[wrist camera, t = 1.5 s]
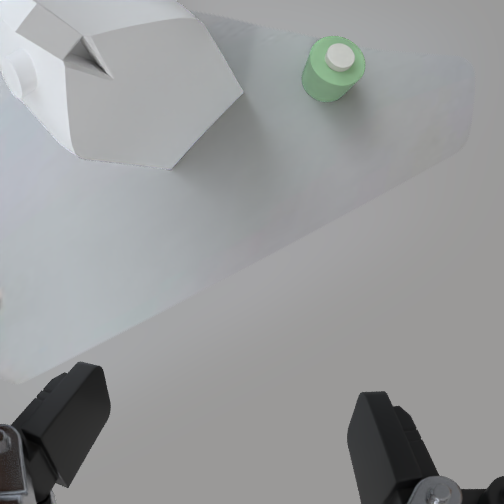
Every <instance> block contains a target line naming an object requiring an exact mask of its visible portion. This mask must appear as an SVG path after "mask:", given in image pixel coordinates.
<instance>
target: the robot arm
mask: <svg viewBox="0 0 504 504" xmlns="http://www.w3.org/2000/svg"><path fill="white" fill-rule="evenodd" d="M110 406H111V405H110V399H109V394H108V390H107V385H106V381H105V376H104V372H103V369H102V367H100V366H97V365H93V364H88V363H84V362H78V363H77V364H76V365H75V366H74V367H73V368H72V369H71V370H70V372H68V373H63V374H61V375H59V376H57V377H55V378H54V379H52V380H51V381H50V382H49V383H48V384H47V385H46V387H45V388H44V390H43V391H41V392H40V393H39V394H38V395H37V398H35V399H34V400H33V401H32V402H31V403H30V404H29V405H28V407H27V408H26V409H25V410H24V411H23V412H22V413H21V415H19V417H18V418H17V419H16V420H15V421H14V422H13V424H12V425H11V426H10V425H6V424H0V504H56V500H55V496H54V493H53V491H52V488H53V486H54V484H55V483H57V484H59V485H62V486H64V487H67V488H69V486H70V484H71V482H72V480H73V479H74V477H75V475H76V473H77V471H78V470H79V468H80V466H81V465H82V463H83V461H84V459H85V458H86V456H87V454H88V452H89V451H90V449H91V447H92V445H93V444H94V442H95V440H96V438H97V437H98V435H99V433H100V432H101V430H102V428H103V427H104V425H105V423H106V422H107V420H108V418H109V415H110V408H111V407H110ZM347 442H348V448H349V452H350V456H351V460H352V465H353V469H354V473H355V478H356V482H357V486H358V491H359V495H360V499H361V504H504V476H502V477H499V478H497V479H495V480H494V481H493V482H492V483H491V484H490V486H489V487H488V488H487V489H460V487H459V486H458V485H457V483H455V482H454V481H453V480H451V479H449V478H447V477H443V476H439V474H438V472H437V470H436V468H435V465H434V463H433V461H432V459H431V457H430V455H429V453H428V451H427V448H426V446H425V444H424V442H423V441H422V440H421V436H420V434H419V432H418V430H416V426H415V424H414V422H413V420H412V418H411V416H410V415H409V414H408V413H407V412H406V411H404V410H403V409H402V408H401V407H400V406H395V407H393V406H392V404H391V401H390V399H389V397H388V395H387V393H386V392H384V391H381V392H362V393H360V395H359V397H358V400H357V403H356V406H355V409H354V413H353V415H352V418H351V421H350V424H349V428H348V434H347Z"/></svg>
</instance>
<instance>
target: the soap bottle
mask: <svg viewBox="0 0 504 504" xmlns="http://www.w3.org/2000/svg"><path fill="white" fill-rule="evenodd" d="M364 71H365V59H364V56H363V54H362V52H361V50H360V49H359V48H358V47H357V46H356V45H355V44H354V43H353V42H351V41H350V40H348V39H346V38H343V37H338V36H329V37H325V38H322V39H320V40H318V41H317V42H316V43H315V44H314V45H313V47H312V49H311V51H310V54H309V57H308V60H307V62H306V65H305V68H304V71H303V74H302V84H303V87H304V89H305V91H306V92H307V93H308V94H309V95H310V96H311V97H312V98H314V99H316V100H318V101H322V102H332V101H335V100H338V99H339V98H341V97H342V96H343V95H344V94H345V93H346V92H347V91H348V90H349V89H350V88H351V87H352V86H353V85H354V84H355V83H356V82H357V81H358V80H359V79H360V78H361V77H362V75H363V73H364Z"/></svg>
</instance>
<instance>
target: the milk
mask: <svg viewBox="0 0 504 504" xmlns="http://www.w3.org/2000/svg"><path fill="white" fill-rule="evenodd" d="M0 70H1V73H2V75H3V78H4V80H5V82H6V84H7V86H8V88H9V90H10V91H11V93H12V94H13V96H14V97H16V98H17V99H20V100H21V101H22V102H23V103H24V105H25V106H26V107H27V108H28V109H29V110H30V112H31V113H32V114H33V115H34V116H35V117H36V118H37V120H38V121H39V122H40V123H41V124H42V125H43V126H44V127H45V128H46V130H47V131H48V132H49V133H50V134H51V135H52V136H53V137H54V138H55V140H56V141H57V142H58V143H59V144H60V145H61V146H63V147H64V148H66V149H67V150H69V151H70V152H71V153H73V154H74V155H76V156H77V157H79V158H81V159H84V160H91V161H101V162H110V163H119V164H128V165H136V166H144V167H151V168H159V169H166V170H171V169H172V168H173V167H174V166H175V165H176V163H177V162H178V161H179V160H180V159H181V158H182V157H183V156H184V154H185V153H186V152H187V151H188V150H189V149H190V148H191V147H192V146H193V145H194V143H195V142H196V141H197V140H198V139H199V138H200V137H201V136H202V135H203V134H204V133H205V132H206V131H207V129H208V128H209V127H210V126H211V125H212V124H213V123H214V122H215V121H216V120H217V119H218V118H219V117H220V116H221V115H222V114H223V113H224V112H225V111H226V110H227V109H228V108H229V107H230V106H231V105H232V104H233V103H234V102H235V101H236V100H237V99H238V98H239V97H240V96H241V95H242V94H243V93H244V92H243V90H242V88H241V86H240V85H239V83H238V81H237V79H236V78H235V76H234V74H233V72H232V70H231V69H230V67H229V65H228V64H227V62H226V60H225V58H224V57H223V55H222V53H221V51H220V50H219V48H218V46H217V45H216V43H215V41H214V40H213V38H212V36H211V35H210V33H209V31H208V30H207V28H206V26H205V25H204V24H203V23H202V22H201V21H200V20H199V19H198V18H197V17H196V16H194V15H193V14H192V13H191V12H190V11H189V10H188V9H187V8H185V7H184V6H183V5H182V4H180V3H179V2H178V1H176V0H0Z"/></svg>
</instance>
